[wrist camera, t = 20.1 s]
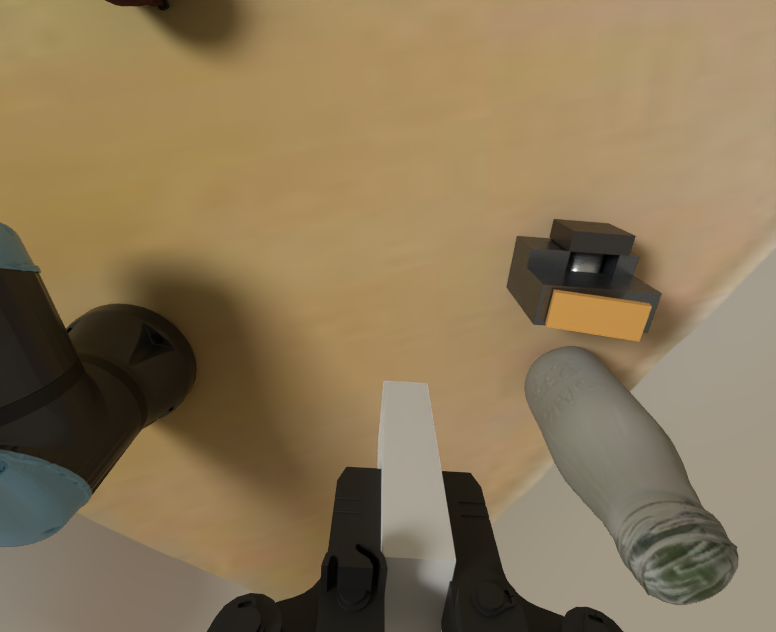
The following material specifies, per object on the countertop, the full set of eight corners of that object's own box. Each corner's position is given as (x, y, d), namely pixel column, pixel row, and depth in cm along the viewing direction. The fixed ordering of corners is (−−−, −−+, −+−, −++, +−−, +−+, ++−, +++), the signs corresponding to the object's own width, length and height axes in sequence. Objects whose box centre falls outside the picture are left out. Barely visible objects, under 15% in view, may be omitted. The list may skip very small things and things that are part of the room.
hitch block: (506, 287, 50) (533, 324, 41) (517, 235, 48) (548, 263, 38) (599, 294, 50) (647, 332, 41) (615, 243, 48) (669, 272, 39)
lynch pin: (531, 312, 51) (547, 333, 46) (554, 219, 47) (574, 230, 42) (581, 316, 51) (603, 337, 46) (608, 223, 47) (635, 235, 42)
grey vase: (554, 318, 52) (719, 512, 26) (611, 363, 54) (813, 578, 29) (497, 375, 55) (595, 597, 29) (554, 415, 57) (689, 650, 32)
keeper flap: (545, 323, 41) (546, 326, 40) (553, 289, 39) (554, 292, 38) (636, 337, 39) (639, 341, 39) (648, 303, 38) (651, 306, 37)
